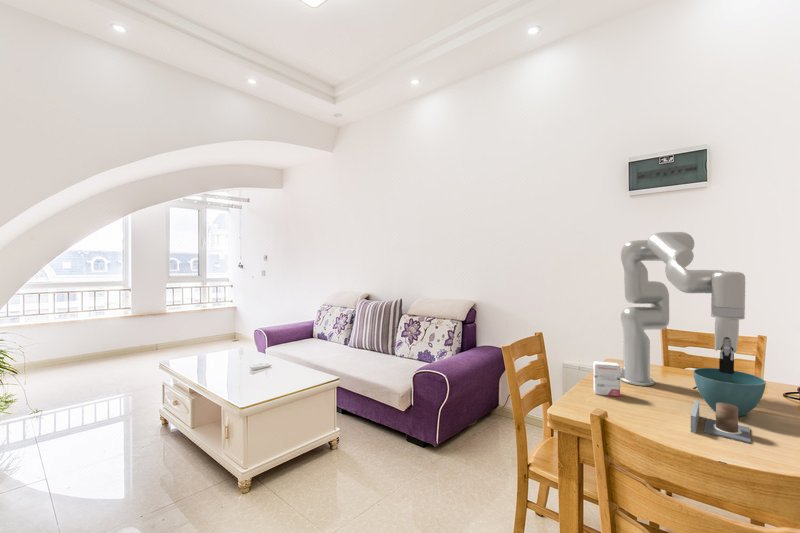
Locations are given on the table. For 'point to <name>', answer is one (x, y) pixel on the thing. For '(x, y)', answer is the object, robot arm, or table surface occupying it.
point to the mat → (741, 435)
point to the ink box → (606, 378)
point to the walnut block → (727, 417)
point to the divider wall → (695, 416)
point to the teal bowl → (729, 388)
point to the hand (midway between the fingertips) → (726, 369)
